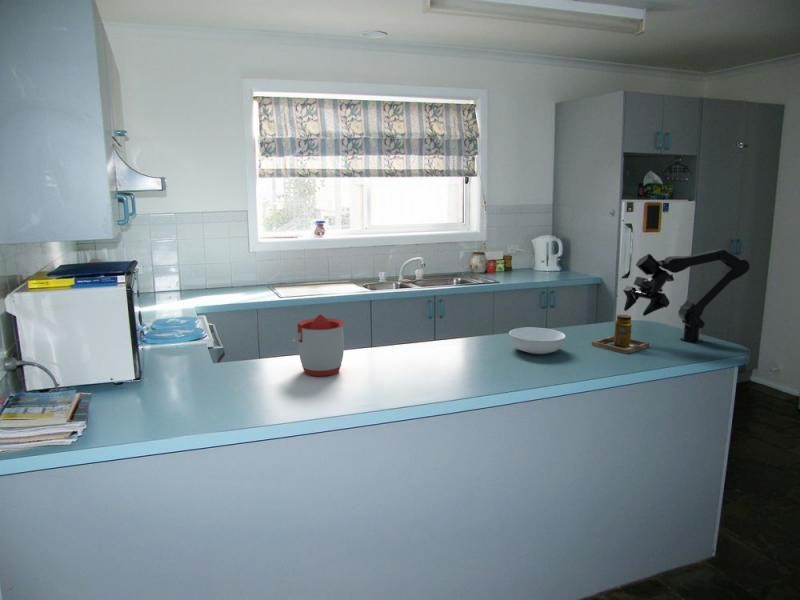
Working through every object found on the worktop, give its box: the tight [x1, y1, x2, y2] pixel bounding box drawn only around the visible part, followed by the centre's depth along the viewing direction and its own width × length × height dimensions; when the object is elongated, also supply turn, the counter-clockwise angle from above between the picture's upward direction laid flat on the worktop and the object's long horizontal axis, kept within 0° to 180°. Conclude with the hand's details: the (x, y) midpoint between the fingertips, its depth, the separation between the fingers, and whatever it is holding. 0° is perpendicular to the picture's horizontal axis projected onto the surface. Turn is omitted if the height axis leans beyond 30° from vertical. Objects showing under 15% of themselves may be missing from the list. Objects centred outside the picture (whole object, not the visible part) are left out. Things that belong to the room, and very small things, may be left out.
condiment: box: [608, 314, 635, 349], centre depth 237 cm, size 7×8×12 cm
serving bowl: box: [508, 326, 567, 355], centre depth 231 cm, size 21×21×7 cm
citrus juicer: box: [292, 313, 345, 377], centre depth 205 cm, size 16×17×20 cm
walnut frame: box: [591, 335, 650, 355], centre depth 238 cm, size 16×15×2 cm
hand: (634, 312), depth 239 cm, fingers open, 9 cm apart
